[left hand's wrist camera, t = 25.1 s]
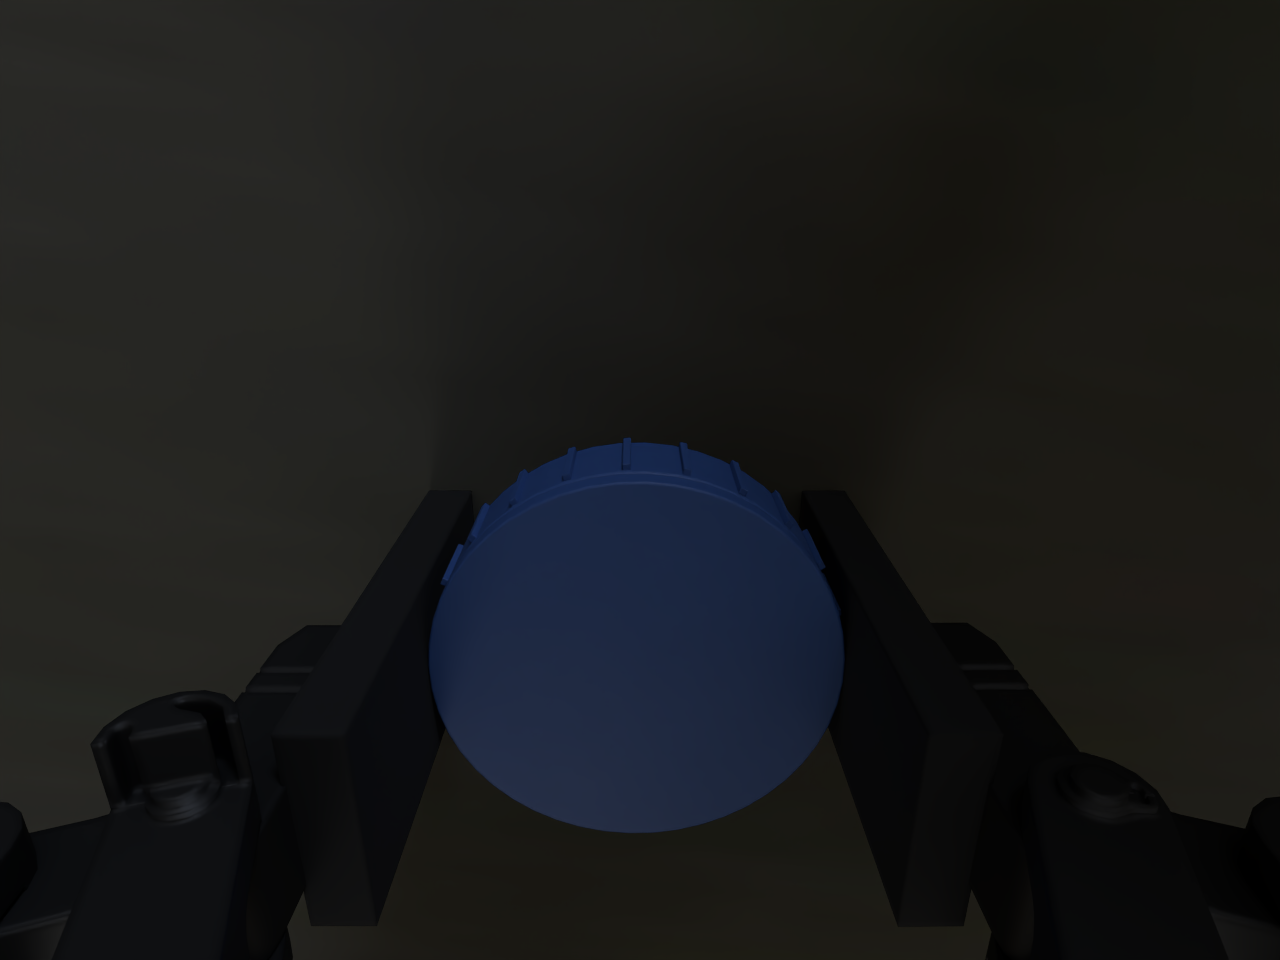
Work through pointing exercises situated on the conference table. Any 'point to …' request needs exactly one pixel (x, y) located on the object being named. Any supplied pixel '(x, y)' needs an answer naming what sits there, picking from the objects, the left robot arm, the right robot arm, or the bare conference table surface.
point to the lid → (636, 640)
